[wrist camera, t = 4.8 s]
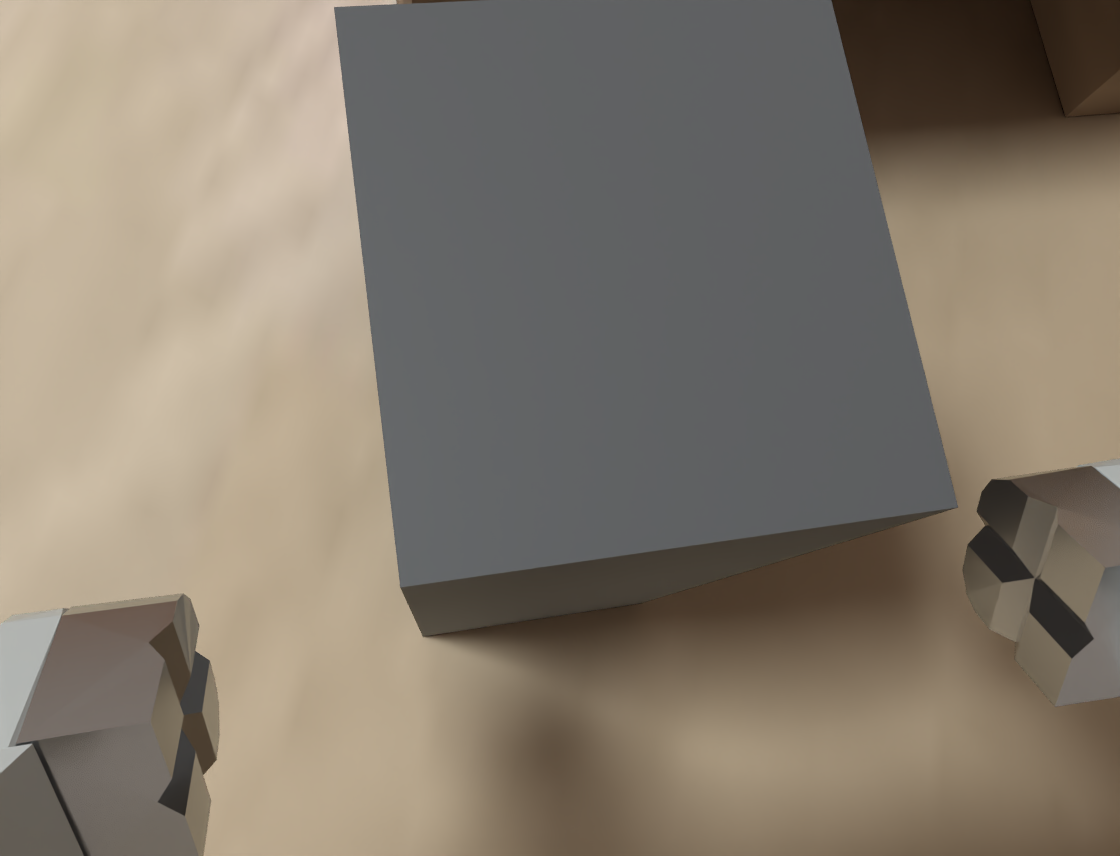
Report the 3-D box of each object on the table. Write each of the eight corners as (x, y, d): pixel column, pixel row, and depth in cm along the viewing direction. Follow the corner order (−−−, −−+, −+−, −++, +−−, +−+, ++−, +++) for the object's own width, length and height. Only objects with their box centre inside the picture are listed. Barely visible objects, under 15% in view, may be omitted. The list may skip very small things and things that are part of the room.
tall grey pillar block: (600, 366, 18) (821, -37, 8) (640, 603, 17) (957, 508, 7) (393, 389, 18) (331, -16, 7) (422, 636, 17) (399, 588, 6)
